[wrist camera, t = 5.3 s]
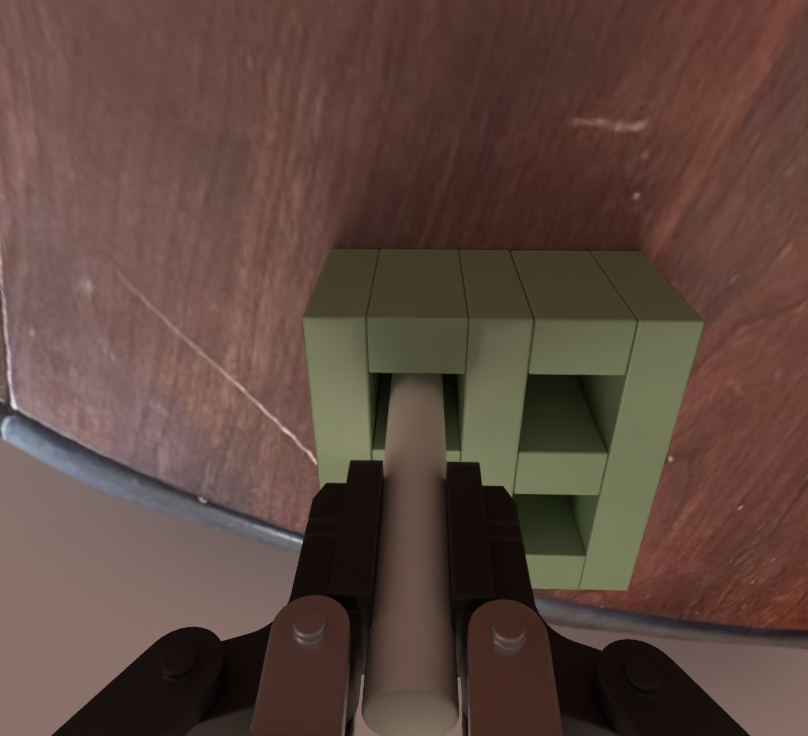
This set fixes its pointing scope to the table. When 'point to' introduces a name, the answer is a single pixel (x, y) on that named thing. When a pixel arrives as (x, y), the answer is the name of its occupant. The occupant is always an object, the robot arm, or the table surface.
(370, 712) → the stylus
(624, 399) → the pen stand
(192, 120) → the table surface
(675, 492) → the table surface
